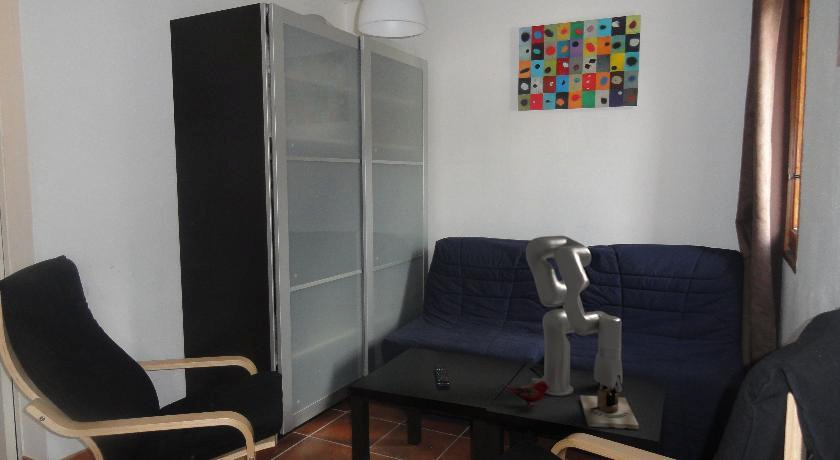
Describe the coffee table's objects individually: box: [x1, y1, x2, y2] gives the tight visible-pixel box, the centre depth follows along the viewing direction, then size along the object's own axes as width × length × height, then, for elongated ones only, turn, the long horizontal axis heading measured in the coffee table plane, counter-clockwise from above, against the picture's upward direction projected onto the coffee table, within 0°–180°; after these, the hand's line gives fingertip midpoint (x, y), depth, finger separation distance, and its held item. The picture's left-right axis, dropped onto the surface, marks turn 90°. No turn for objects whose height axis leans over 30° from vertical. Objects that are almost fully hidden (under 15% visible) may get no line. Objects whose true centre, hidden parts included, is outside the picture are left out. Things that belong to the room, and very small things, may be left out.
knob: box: [590, 388, 620, 412], centre depth 206 cm, size 10×7×6 cm, turn 111°
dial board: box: [579, 394, 640, 430], centre depth 207 cm, size 16×24×2 cm, turn 171°
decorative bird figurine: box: [502, 381, 550, 408], centre depth 214 cm, size 3×18×10 cm, turn 62°
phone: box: [530, 364, 544, 378], centre depth 249 cm, size 8×1×15 cm
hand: (607, 403), depth 207 cm, fingers closed on knob, 2 cm apart
